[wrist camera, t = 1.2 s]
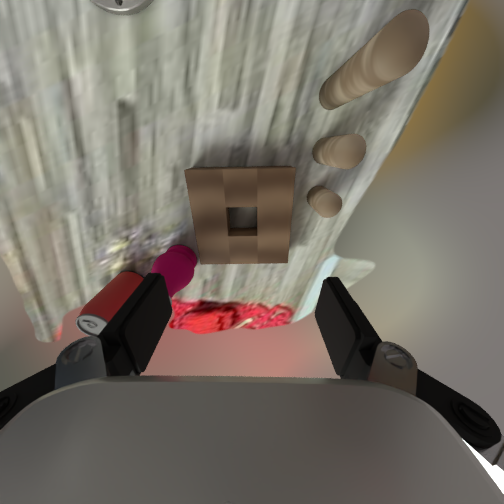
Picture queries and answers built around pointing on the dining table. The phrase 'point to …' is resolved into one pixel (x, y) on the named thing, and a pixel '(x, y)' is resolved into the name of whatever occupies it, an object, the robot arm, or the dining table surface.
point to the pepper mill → (176, 268)
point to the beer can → (107, 303)
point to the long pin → (379, 60)
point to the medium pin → (340, 151)
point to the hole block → (241, 195)
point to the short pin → (324, 201)
